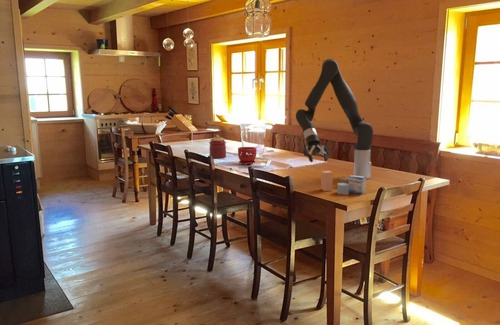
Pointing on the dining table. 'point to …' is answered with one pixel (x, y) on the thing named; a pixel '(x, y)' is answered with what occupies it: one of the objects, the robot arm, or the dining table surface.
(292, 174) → the dining table surface
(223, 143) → the canister
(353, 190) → the medicine box
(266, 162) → the dining table surface
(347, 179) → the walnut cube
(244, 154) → the plant pot
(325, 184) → the terracotta block
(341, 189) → the slate blue cube
